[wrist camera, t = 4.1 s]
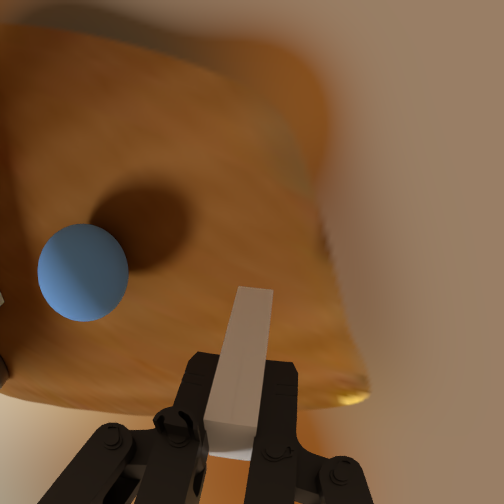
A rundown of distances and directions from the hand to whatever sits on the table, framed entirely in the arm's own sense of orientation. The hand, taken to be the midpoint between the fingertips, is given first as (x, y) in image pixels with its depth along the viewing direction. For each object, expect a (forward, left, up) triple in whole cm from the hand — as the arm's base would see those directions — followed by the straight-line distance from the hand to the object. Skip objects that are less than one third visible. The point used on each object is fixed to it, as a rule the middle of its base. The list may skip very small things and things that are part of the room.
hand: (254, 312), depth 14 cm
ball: (0, +10, -1) cm, 10 cm away
